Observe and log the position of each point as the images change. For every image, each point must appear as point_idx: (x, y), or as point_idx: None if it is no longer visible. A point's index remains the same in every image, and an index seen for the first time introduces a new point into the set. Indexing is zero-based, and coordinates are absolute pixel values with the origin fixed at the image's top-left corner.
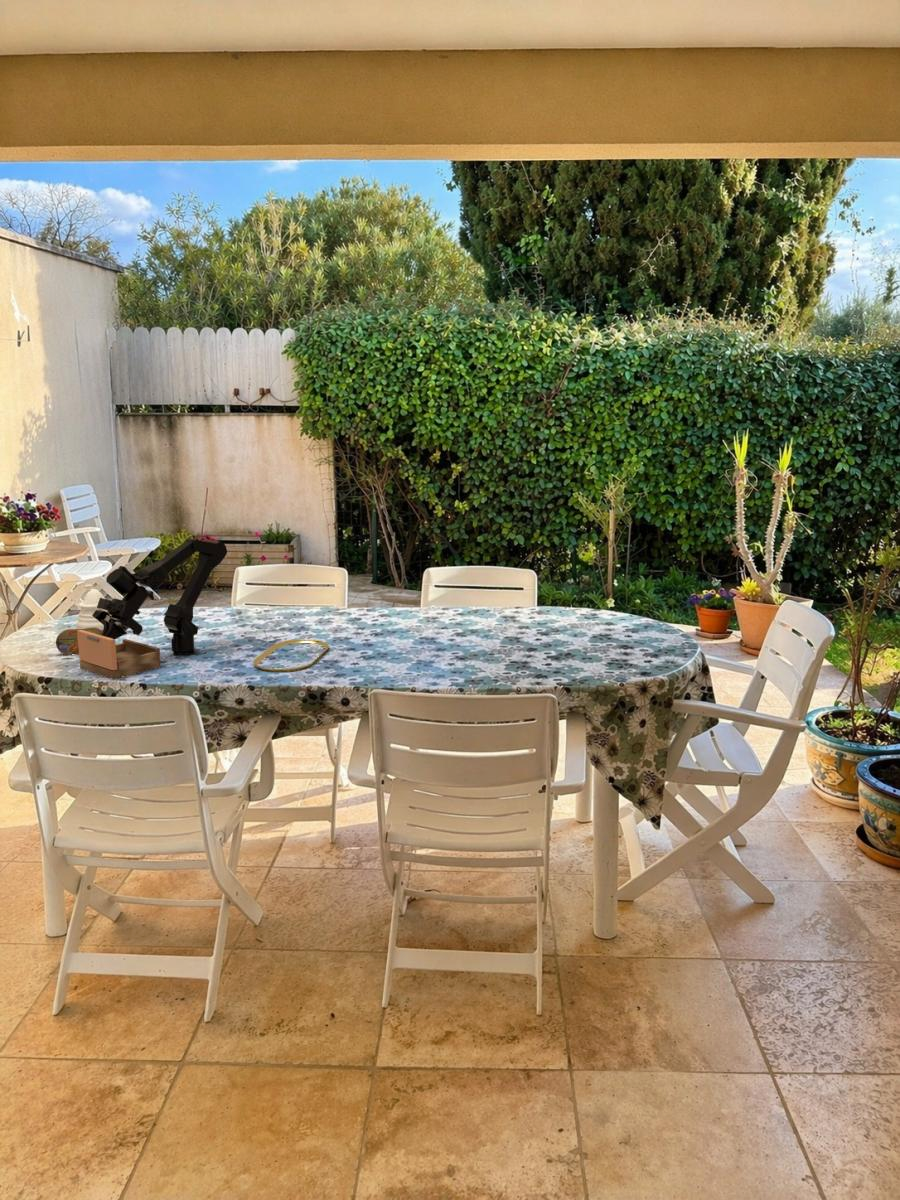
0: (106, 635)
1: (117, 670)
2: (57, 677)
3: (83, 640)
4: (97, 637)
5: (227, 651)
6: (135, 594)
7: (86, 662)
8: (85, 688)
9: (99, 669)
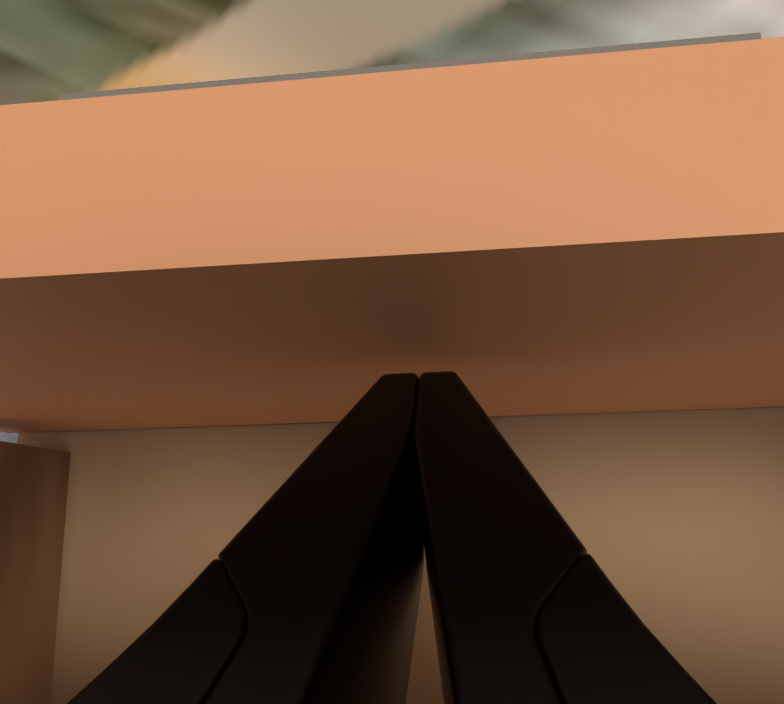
0: (241, 538)
1: (19, 434)
2: (659, 13)
3: None
4: (131, 113)
5: None
6: None
7: None
8: (65, 51)
9: None
